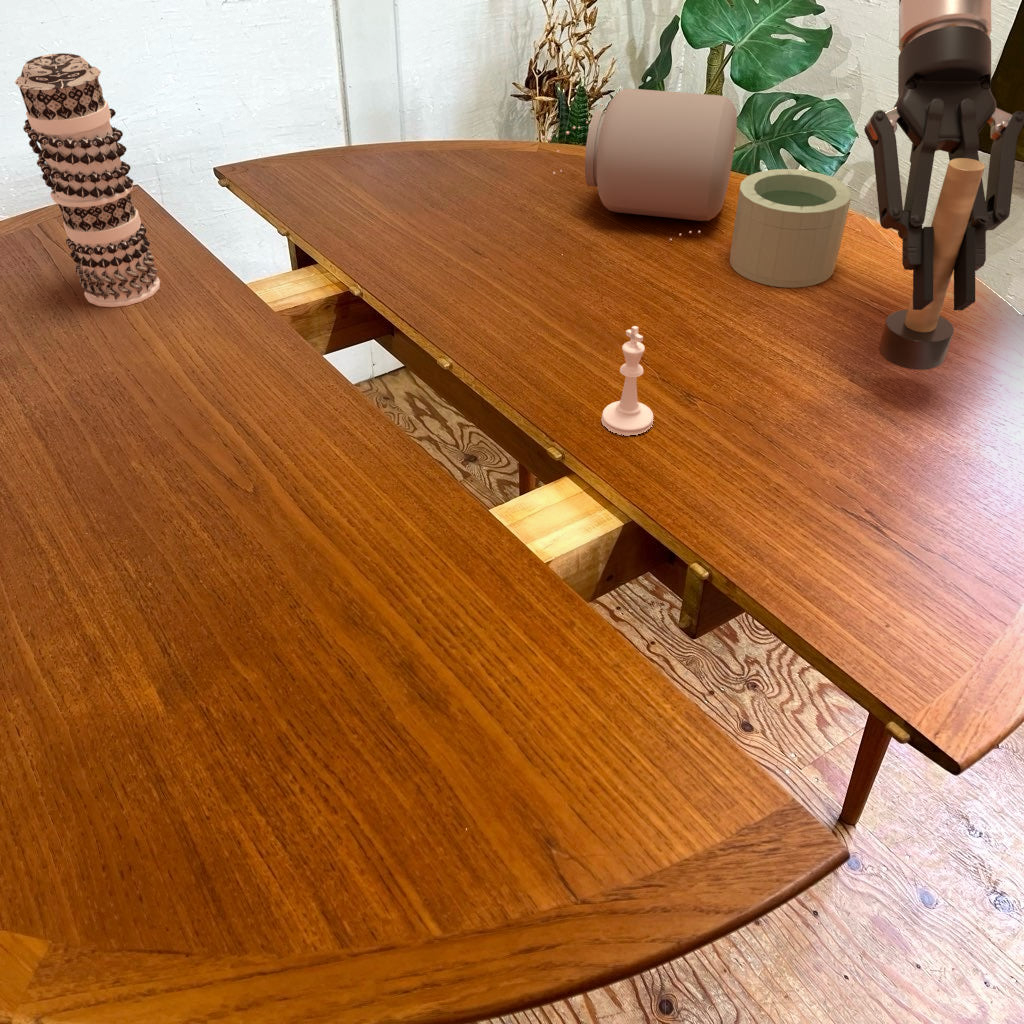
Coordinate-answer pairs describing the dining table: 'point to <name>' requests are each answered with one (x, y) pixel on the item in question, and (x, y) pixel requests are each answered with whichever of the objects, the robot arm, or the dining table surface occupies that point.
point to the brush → (935, 276)
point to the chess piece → (629, 393)
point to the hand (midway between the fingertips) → (943, 305)
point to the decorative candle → (88, 178)
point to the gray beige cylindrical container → (789, 227)
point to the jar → (662, 153)
